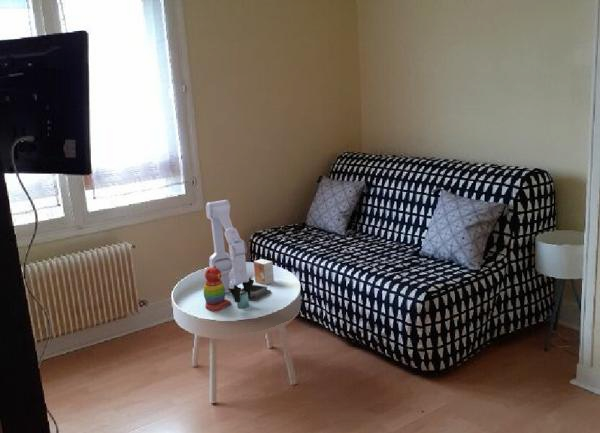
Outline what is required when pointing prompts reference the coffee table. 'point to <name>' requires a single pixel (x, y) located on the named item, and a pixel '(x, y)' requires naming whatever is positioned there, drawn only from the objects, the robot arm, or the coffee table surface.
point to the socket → (257, 292)
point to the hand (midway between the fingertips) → (242, 299)
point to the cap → (243, 300)
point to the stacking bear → (214, 290)
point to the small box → (263, 271)
